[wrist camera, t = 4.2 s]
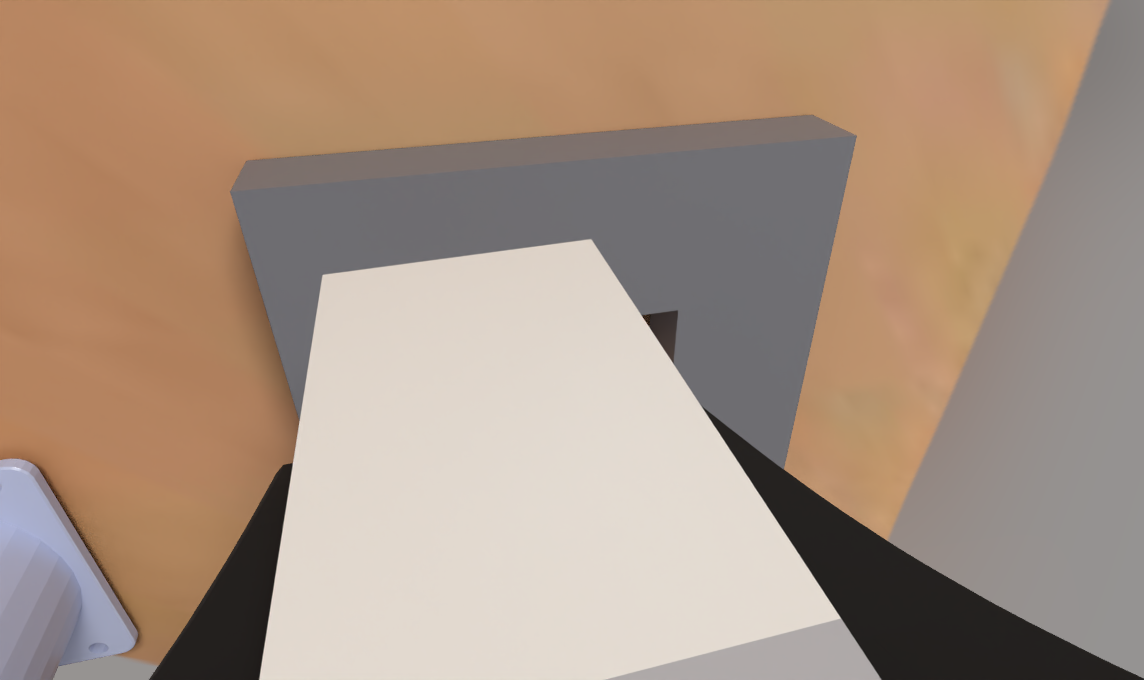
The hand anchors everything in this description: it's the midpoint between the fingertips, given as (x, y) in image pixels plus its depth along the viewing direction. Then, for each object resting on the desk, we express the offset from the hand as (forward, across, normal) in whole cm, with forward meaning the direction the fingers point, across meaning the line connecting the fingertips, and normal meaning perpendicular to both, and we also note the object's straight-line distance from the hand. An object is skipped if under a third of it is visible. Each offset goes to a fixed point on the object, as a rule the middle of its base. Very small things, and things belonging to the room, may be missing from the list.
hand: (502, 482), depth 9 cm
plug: (+3, 0, 0) cm, 3 cm away
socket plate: (+9, -3, +5) cm, 11 cm away
